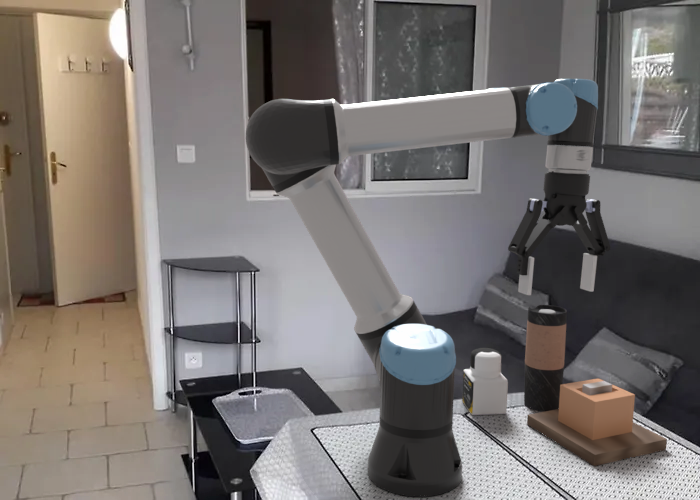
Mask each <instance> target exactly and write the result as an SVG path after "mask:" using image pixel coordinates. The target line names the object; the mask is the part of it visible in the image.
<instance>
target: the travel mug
mask: <svg viewBox="0 0 700 500" xmlns="http://www.w3.org/2000/svg"><path fill="white" fill-rule="evenodd" d="M567 317H568V311H567V309H566V308H564V307H561V306H557V305H549V304H538V305H537V306H536V307H533V308H531V307H530V306H529V307H528V309H527V321H526V322H527V323H526V336H525V337H526V338H525V353H524V354H525V355H524V356H525V357H524V383H523V386H524V388H523V389H524V390H523V401H524V406H526V407H527V408H529V409H531V410H534V411H539V412H545V411H551V410H556V409H559V398H560V385H561V384H564V374H565V373H564V371H565V355H566V338H567V337H566V336H567V332H566V331H567Z"/></svg>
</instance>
